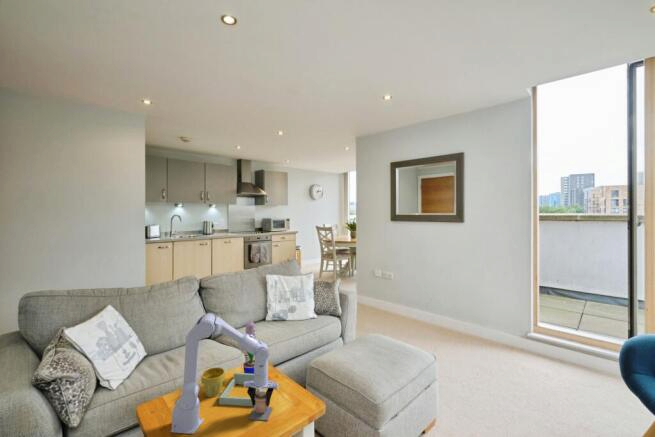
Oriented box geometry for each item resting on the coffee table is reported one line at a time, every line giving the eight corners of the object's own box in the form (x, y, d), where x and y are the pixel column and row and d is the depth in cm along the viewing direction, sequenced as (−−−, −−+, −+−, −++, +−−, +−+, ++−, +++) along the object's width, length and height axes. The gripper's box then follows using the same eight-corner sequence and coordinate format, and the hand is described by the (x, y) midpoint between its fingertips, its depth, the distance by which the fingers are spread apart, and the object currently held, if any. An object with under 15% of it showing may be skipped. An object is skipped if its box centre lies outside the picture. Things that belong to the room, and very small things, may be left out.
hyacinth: (262, 371, 159) (263, 316, 159) (256, 382, 149) (256, 323, 149) (247, 370, 160) (247, 315, 160) (239, 381, 150) (239, 322, 150)
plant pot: (219, 400, 135) (219, 378, 134) (197, 399, 135) (197, 378, 135) (228, 387, 145) (228, 367, 145) (207, 386, 145) (207, 366, 145)
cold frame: (219, 404, 132) (219, 393, 132) (234, 382, 149) (234, 372, 149) (256, 406, 130) (256, 395, 130) (267, 384, 147) (267, 374, 147)
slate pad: (248, 419, 122) (248, 418, 122) (255, 407, 130) (255, 406, 130) (267, 421, 121) (267, 419, 121) (272, 408, 129) (272, 407, 129)
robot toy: (196, 398, 137) (196, 393, 137) (185, 416, 125) (185, 410, 125) (180, 398, 136) (180, 393, 136) (167, 416, 125) (167, 410, 124)
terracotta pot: (251, 410, 125) (251, 396, 125) (260, 403, 130) (260, 389, 130) (261, 415, 122) (261, 401, 122) (270, 407, 127) (271, 393, 127)
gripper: (240, 377, 122) (240, 409, 122) (275, 379, 121) (275, 412, 121) (247, 368, 129) (247, 399, 129) (279, 370, 128) (279, 401, 128)
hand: (261, 404), depth 125 cm, fingers closed on terracotta pot, 5 cm apart
